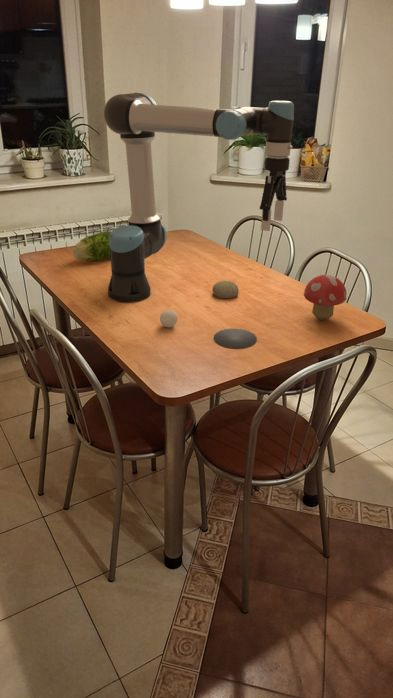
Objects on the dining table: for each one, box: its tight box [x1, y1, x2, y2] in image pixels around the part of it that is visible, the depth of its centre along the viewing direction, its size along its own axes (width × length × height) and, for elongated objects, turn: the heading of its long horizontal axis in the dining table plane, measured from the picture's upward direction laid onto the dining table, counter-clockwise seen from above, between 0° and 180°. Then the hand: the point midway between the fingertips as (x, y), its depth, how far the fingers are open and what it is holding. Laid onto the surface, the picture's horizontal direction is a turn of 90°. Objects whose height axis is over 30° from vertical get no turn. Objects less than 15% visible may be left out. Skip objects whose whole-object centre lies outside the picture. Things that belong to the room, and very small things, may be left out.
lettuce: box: [72, 230, 112, 262], centre depth 220 cm, size 12×21×11 cm, turn 129°
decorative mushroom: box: [303, 274, 347, 321], centre depth 169 cm, size 13×13×15 cm
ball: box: [159, 309, 178, 328], centre depth 166 cm, size 6×6×6 cm
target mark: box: [213, 328, 258, 350], centre depth 160 cm, size 13×13×1 cm
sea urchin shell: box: [212, 280, 239, 299], centre depth 190 cm, size 9×8×8 cm
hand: (271, 225), depth 172 cm, fingers open, 13 cm apart
